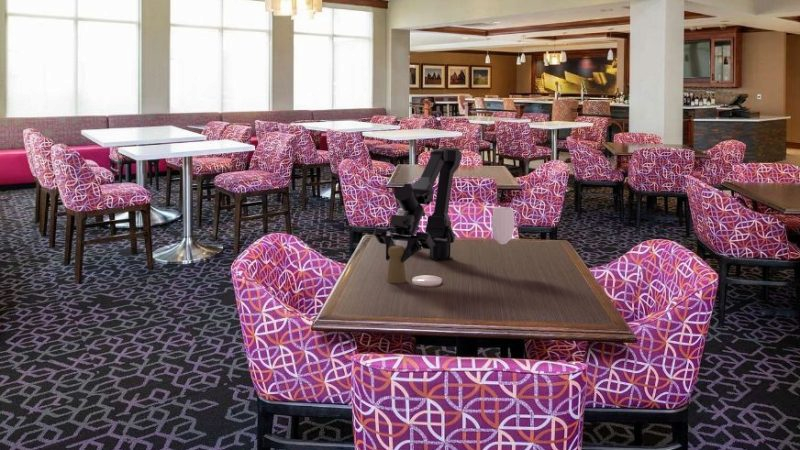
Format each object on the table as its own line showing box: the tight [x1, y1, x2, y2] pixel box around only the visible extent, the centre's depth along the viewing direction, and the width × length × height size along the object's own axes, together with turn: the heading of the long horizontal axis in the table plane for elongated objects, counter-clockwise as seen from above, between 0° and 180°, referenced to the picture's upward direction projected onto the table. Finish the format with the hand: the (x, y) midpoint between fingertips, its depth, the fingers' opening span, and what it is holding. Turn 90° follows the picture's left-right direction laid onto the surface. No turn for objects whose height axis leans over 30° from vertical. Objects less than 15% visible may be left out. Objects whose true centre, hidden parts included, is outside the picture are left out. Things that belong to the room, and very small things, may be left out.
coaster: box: [411, 274, 443, 287], centre depth 205 cm, size 9×9×1 cm
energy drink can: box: [395, 207, 407, 249], centre depth 250 cm, size 6×6×15 cm
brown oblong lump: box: [386, 244, 407, 284], centre depth 206 cm, size 6×6×11 cm
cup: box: [491, 206, 515, 245], centre depth 217 cm, size 7×7×21 cm
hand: (394, 260), depth 205 cm, fingers closed on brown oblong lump, 5 cm apart
